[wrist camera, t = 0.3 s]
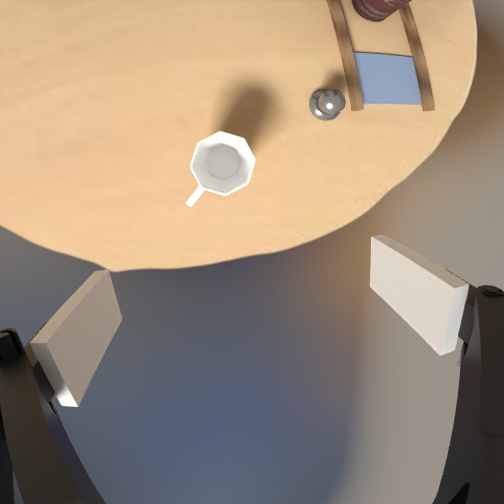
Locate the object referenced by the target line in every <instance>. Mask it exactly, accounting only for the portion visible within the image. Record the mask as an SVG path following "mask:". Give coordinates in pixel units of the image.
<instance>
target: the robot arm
mask: <svg viewBox="0 0 504 504" xmlns="http://www.w3.org/2000/svg"><path fill="white" fill-rule="evenodd" d="M370 272H371V273H370V287H371V288H372V289H373V290H374V291H375V292H376V293H377V294H378V295H379V296H381V298H383V299H384V300H385V301H386V302H387V303H388V304H389V305H390V306H391V307H392V308H393V309H394V310H395V311H396V312H397V313H398V314H399V315H400V316H401V317H402V318H403V319H404V320H405V321H406V322H407V323H408V324H409V325H410V326H411V327H412V328H413V329H414V330H415V331H416V332H417V333H418V334H419V335H420V336H421V337H422V338H423V339H424V340H425V341H426V342H427V343H428V344H429V345H430V346H431V347H432V348H433V349H434V350H435V351H436V352H437V353H438V354H439V355H443V354H446V353H448V352H451V351H453V350H455V347H456V343H457V339H458V336H459V337H460V338H461V339H462V340H463V341H464V343H463V346H462V350H461V353H460V357H459V360H458V363H457V366H459V365H460V363H461V366H460V379H459V389H458V398H457V405H456V412H455V418H454V425H453V430H452V436H451V441H450V446H449V450H448V455H447V459H446V463H445V467H444V471H443V475H442V479H441V483H440V486H439V489H438V492H437V495H436V497H435V500H434V502H433V503H432V504H504V291H502V290H501V289H499V288H497V287H494V286H489V285H483V286H479V287H478V288H476V287H474V286H472V285H471V284H469V283H468V282H466V281H464V280H463V279H460V278H459V277H458V276H456V275H454V274H453V273H451V272H450V271H448V270H446V269H443V268H442V267H440V266H438V265H437V264H435V263H433V262H431V261H430V260H428V259H426V258H425V257H423V256H421V255H419V254H418V253H416V252H414V251H412V250H411V249H409V248H407V247H405V246H403V245H401V244H400V243H398V242H396V241H394V240H393V239H391V238H389V237H387V236H385V235H381V236H372V237H371V271H370ZM121 320H122V316H121V313H120V309H119V306H118V303H117V299H116V296H115V292H114V288H113V285H112V281H111V277H110V273H109V270H101V271H95V272H94V273H93V274H92V275H91V276H90V277H89V278H88V279H87V280H86V282H84V283H83V285H81V287H80V288H79V289H78V290H77V291H76V292H75V293H74V294H73V295H72V296H71V297H70V298H69V299H68V300H67V301H66V302H65V304H64V305H63V306H62V307H61V308H60V309H59V310H58V311H57V312H56V313H55V315H54V316H53V317H52V318H51V319H50V320H49V321H48V322H46V323H45V324H44V325H43V326H42V328H41V329H40V331H38V332H37V333H36V334H35V336H34V337H33V338H32V339H31V340H30V341H29V342H28V344H27V345H26V346H25V347H24V348H23V345H22V343H21V341H20V339H19V336H18V334H17V332H16V330H15V329H13V328H6V329H3V330H0V504H14V491H13V490H14V489H13V469H14V473H15V476H16V480H17V483H18V486H19V490H20V493H21V495H22V499H23V502H24V504H106V503H105V501H104V500H103V498H102V496H101V495H100V494H99V492H98V490H97V489H96V487H95V485H94V484H93V482H92V480H91V479H90V477H89V475H88V473H87V472H86V470H85V468H84V466H83V464H82V463H81V461H80V459H79V457H78V455H77V453H76V451H75V449H74V448H73V445H72V444H71V441H70V439H69V437H68V435H67V433H66V431H65V429H64V426H63V424H62V422H61V420H60V417H59V415H58V413H57V410H56V408H55V406H54V404H53V403H52V401H51V399H52V397H53V396H54V394H56V396H57V398H58V400H59V401H60V403H61V405H63V406H75V407H78V406H79V404H80V402H81V399H82V398H83V395H84V393H85V391H86V389H87V387H88V385H89V383H90V380H91V379H92V377H93V374H94V372H95V370H96V368H97V366H98V364H99V362H100V360H101V358H102V356H103V354H104V353H105V350H106V349H107V347H108V345H109V343H110V341H111V339H112V337H113V335H114V333H115V331H116V330H117V328H118V326H119V324H120V322H121Z"/></svg>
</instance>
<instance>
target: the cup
mask: <svg viewBox="0 0 504 504" xmlns="http://www.w3.org/2000/svg"><path fill="white" fill-rule="evenodd" d="M255 162H256V159H255V157H254V155H253V153H252V151H251V149H250V148H249V146H248V144H247V142H246V140H245V138H243V137H239V136H236V135H233V134H230V133H226V132H223V131H219V132H217V133H215V134H213V135H211V136H209V137H207V138H205V139H203V140H201V141H199V142H198V143H197V145H196V148H195V151H194V155H193V158H192V161H191V164H190V168H191V170H192V172H193V174H194V176H195V177H196V179H197V181H198V183H199V185H200V186H199V187H198V188H197V189H196V191H195V192H194V193H193V194H192V196H191V197H190V198H189V199H188V201H187V202H186V204H187V205H189V206H190V207H191V206H192V205H193V204H194V203H195V201H196V200H197V199H198V198H199V197H200V195H201V194H202V193H203V192H204V190H208V191H211V192H215V193H218V194H221V195H225V196H226V195H228V194H230V193H232V192H234V191H236V190H238V189H240V188H242V187H244V186H246V185H248V183H249V180H250V177H251V174H252V171H253V168H254V165H255Z"/></svg>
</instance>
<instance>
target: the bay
mask: <svg viewBox="0 0 504 504" xmlns="http://www.w3.org/2000/svg"><path fill="white" fill-rule="evenodd" d="M327 2H328V6H329V9H330V13H331V17H332V20H333V24H334V28H335V32H336V36H337V40H338V44H339V48H340V53H341V57H342V62H343V66H344V71H345V76H346V81H347V86H348V92H349V97H350V103H351V108H352V111H359V110H362V109H364V105H363V100H362V94H361V89H360V83H359V78H358V73H357V69H356V64H355V59H354V55H353V51H352V46H351V42H350V38H349V34H348V31H347V27H346V23H345V19H344V16H343V12H342V9H341V5H340V2H339V0H327ZM399 11H400V14H401V17H402V21H403V24H404V27H405V31H406V34H407V38H408V41H409V45H410V49H411V53H412V57H413V61H414V66H415V70H416V75H417V80H418V85H419V90H420V95H421V101H422V107H423V111H432V110H435V107H434V101H433V95H432V89H431V84H430V79H429V75H428V70H427V66H426V61H425V57H424V53H423V49H422V45H421V42H420V38H419V34H418V31H417V28H416V24H415V21H414V18H413V15H412V12H411V9H410V6H409V3H407V4H405V5H404V6H403V7H401V8H400V9H399Z"/></svg>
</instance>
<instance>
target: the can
mask: <svg viewBox="0 0 504 504" xmlns="http://www.w3.org/2000/svg"><path fill="white" fill-rule="evenodd" d="M410 1H411V0H352V4H353V6H354V9H355V10H356V12H357V13H358V14H359V15H360V16H362V17H363V18H365V19H367V20H370V21H374V22H379V21H382V20H384V19H385V18H387V17H388V16H390V15H391V14H392V13H394V12H395V11H397V10H398V9H400V8H401V7H403V6H404V5H405V4H407V3H408V2H410Z"/></svg>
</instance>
